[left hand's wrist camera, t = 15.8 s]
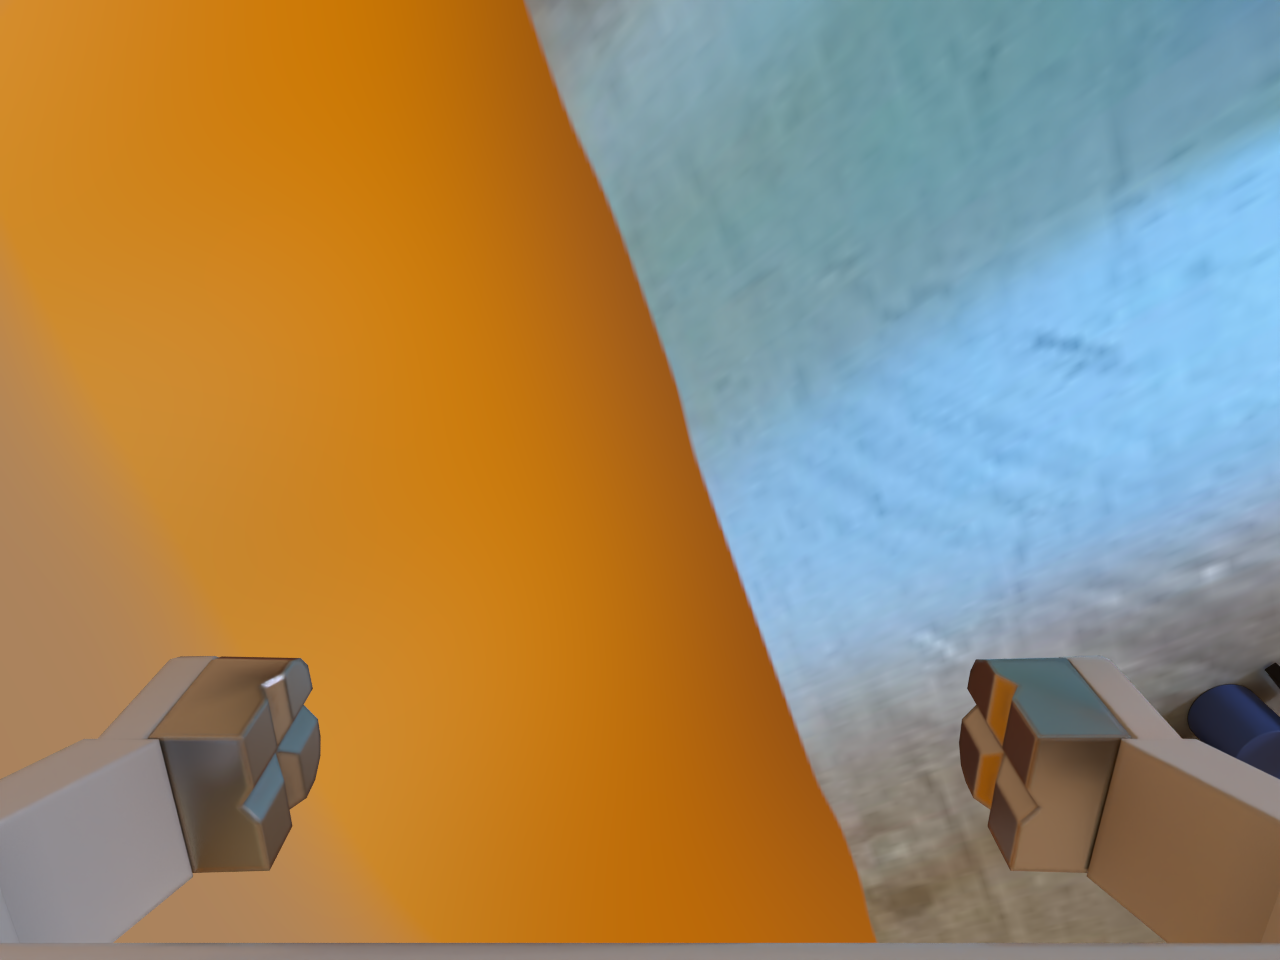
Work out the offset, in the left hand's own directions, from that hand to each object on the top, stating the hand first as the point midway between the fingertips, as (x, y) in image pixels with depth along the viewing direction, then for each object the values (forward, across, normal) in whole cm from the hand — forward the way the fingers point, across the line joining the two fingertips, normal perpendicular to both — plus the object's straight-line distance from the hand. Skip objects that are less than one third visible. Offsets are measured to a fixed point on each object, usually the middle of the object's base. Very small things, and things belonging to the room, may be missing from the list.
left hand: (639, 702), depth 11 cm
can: (+38, +38, -28) cm, 60 cm away
